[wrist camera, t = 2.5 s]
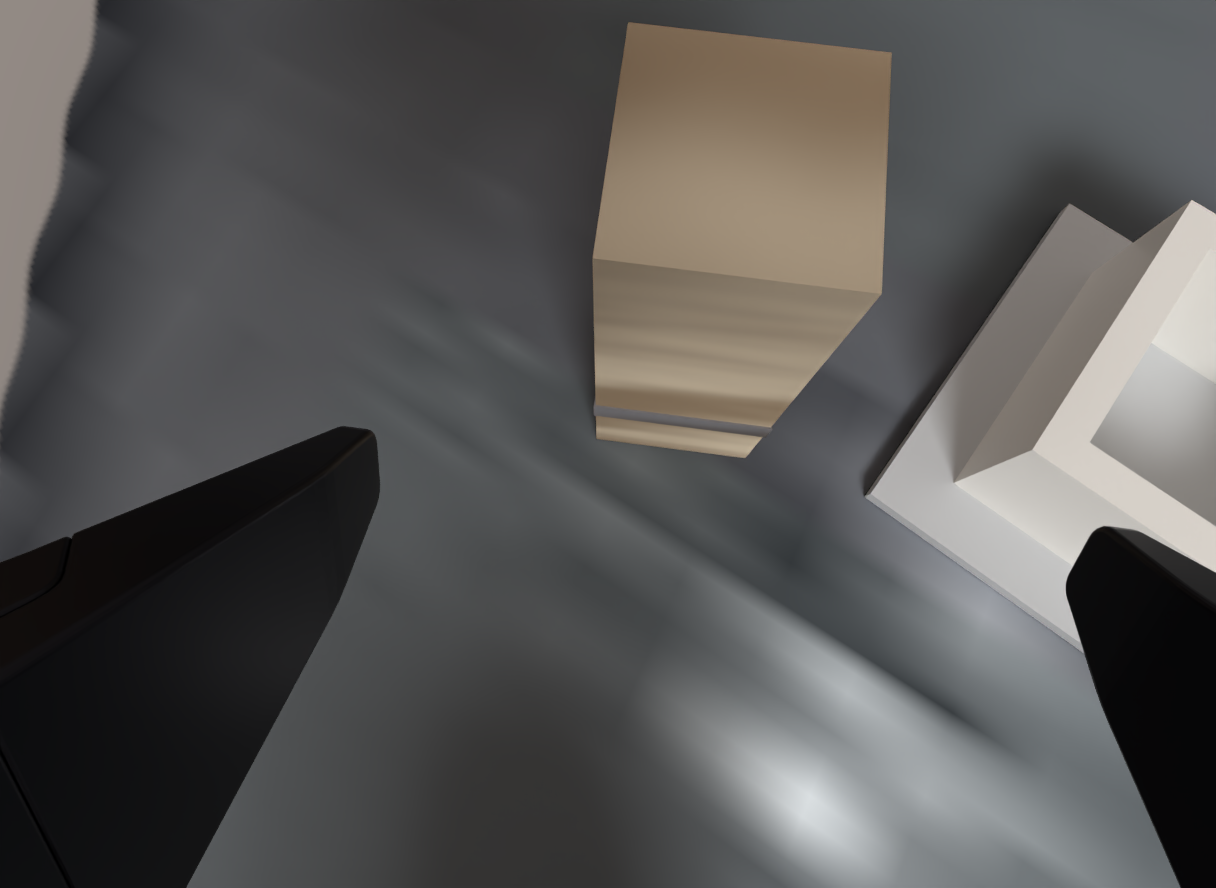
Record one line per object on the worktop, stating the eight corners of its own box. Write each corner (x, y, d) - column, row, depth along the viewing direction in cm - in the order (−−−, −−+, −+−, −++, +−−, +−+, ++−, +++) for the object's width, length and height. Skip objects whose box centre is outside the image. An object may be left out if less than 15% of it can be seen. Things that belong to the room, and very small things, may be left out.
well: (1236, 761, 20) (1414, 798, 16) (864, 497, 22) (930, 463, 17) (1406, 426, 22) (1601, 376, 18) (1059, 212, 24) (1161, 119, 20)
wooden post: (746, 460, 22) (884, 297, 11) (594, 440, 22) (589, 260, 11) (758, 319, 23) (894, 50, 12) (614, 301, 23) (625, 19, 12)
